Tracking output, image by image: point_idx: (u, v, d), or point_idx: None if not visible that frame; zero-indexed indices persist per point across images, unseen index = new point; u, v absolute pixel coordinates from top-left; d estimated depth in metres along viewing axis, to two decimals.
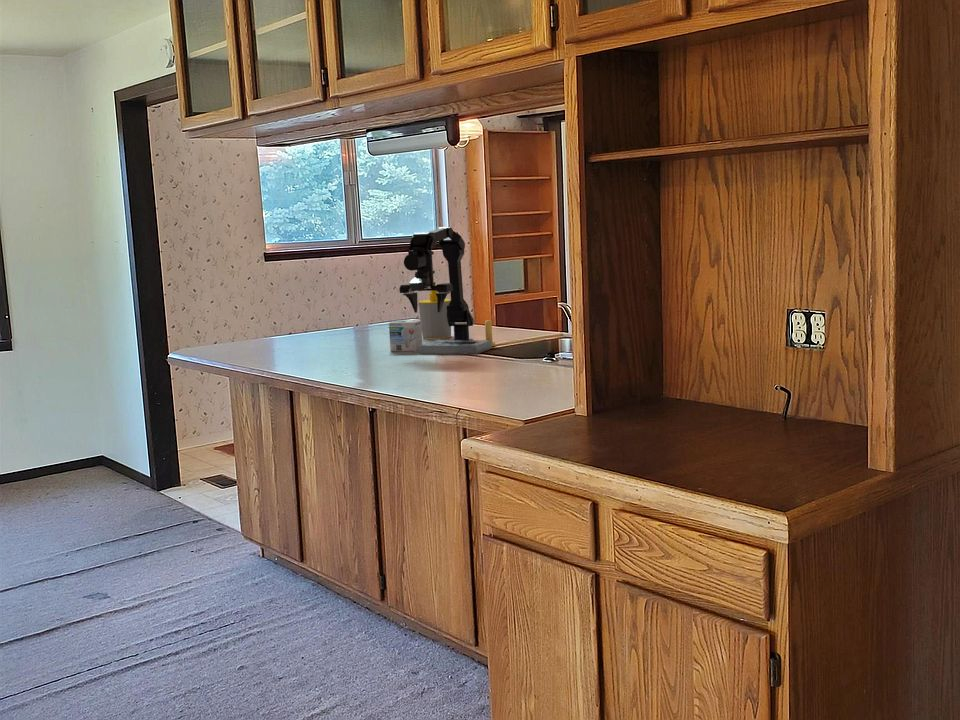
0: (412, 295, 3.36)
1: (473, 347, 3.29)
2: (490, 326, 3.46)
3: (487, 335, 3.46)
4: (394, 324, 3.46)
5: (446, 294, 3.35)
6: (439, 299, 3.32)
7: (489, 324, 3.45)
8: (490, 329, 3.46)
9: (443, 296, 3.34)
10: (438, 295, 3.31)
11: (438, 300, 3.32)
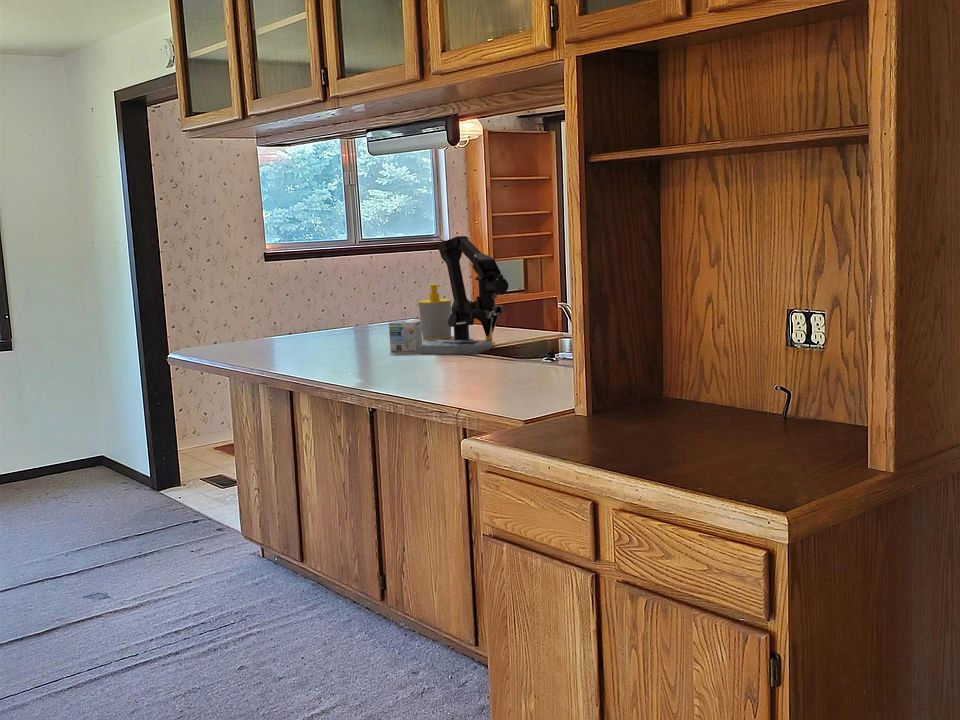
0: None
1: (473, 347, 3.29)
2: None
3: None
4: (394, 324, 3.46)
5: (490, 320, 3.42)
6: None
7: None
8: None
9: (488, 321, 3.43)
10: None
11: None
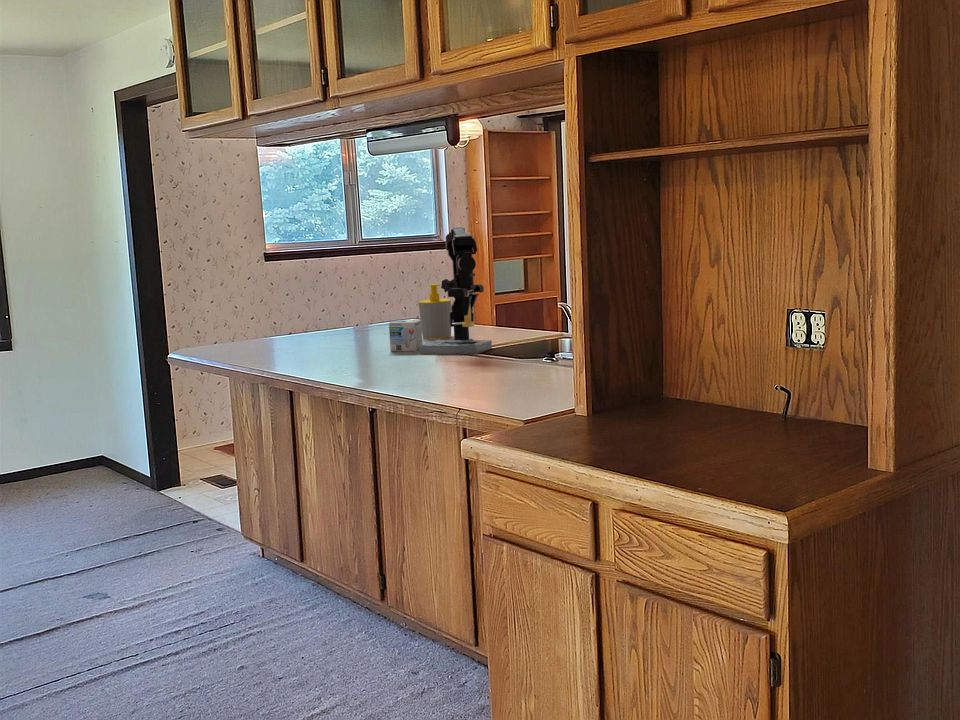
0: None
1: (473, 347, 3.29)
2: None
3: None
4: (394, 324, 3.46)
5: (468, 298, 3.31)
6: None
7: None
8: (469, 308, 3.35)
9: (466, 300, 3.32)
10: None
11: None
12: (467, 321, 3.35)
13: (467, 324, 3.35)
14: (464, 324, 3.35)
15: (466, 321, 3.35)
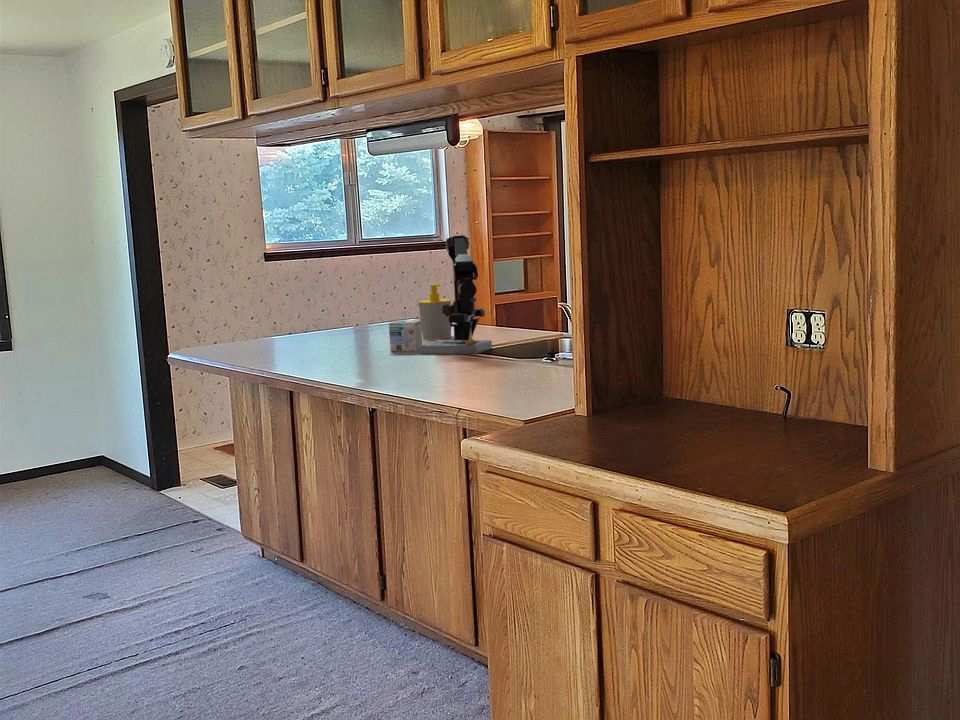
0: None
1: (473, 347, 3.29)
2: None
3: None
4: (394, 324, 3.46)
5: (469, 323, 3.32)
6: None
7: None
8: (470, 333, 3.36)
9: (467, 325, 3.34)
10: None
11: None
12: None
13: None
14: None
15: None
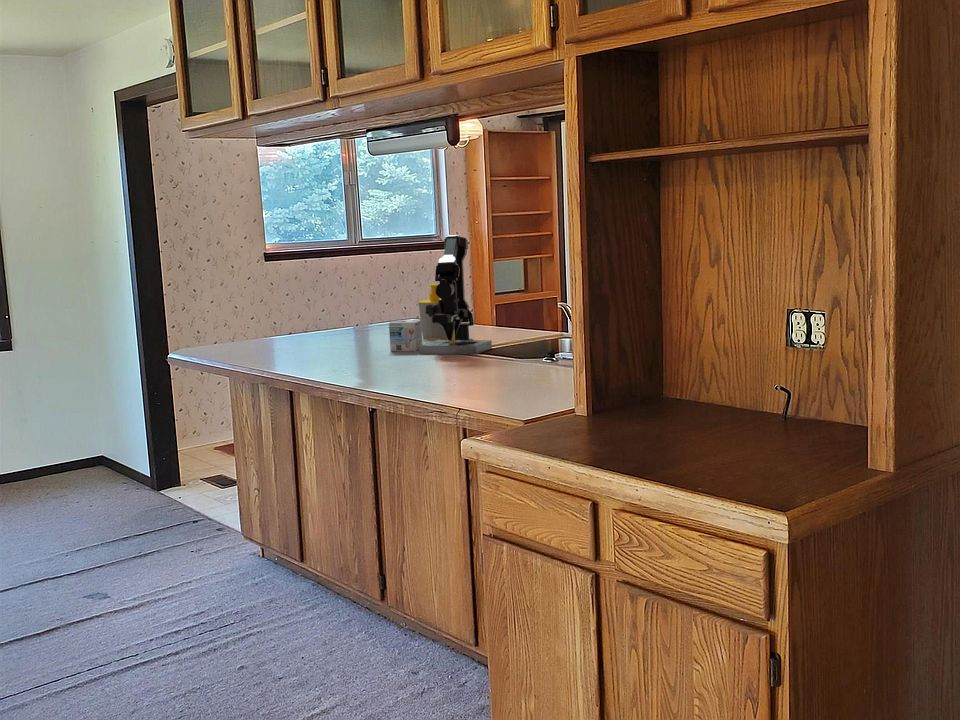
0: None
1: (473, 347, 3.29)
2: None
3: None
4: (394, 324, 3.46)
5: (452, 324, 3.35)
6: None
7: None
8: (453, 333, 3.39)
9: (450, 325, 3.36)
10: None
11: None
12: None
13: None
14: None
15: None
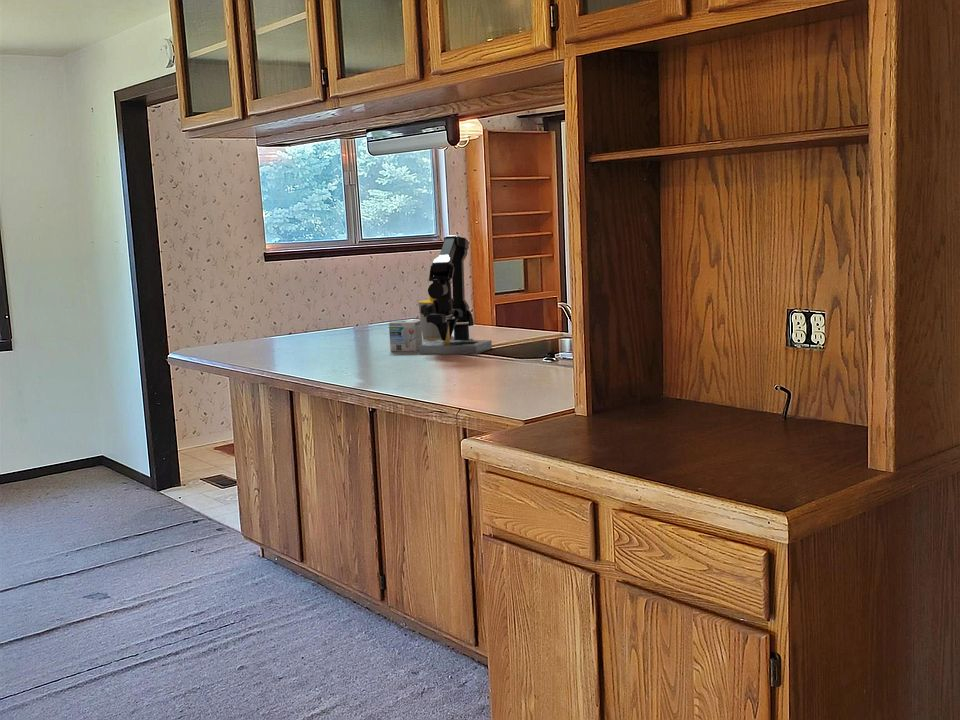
0: None
1: (473, 347, 3.29)
2: None
3: (444, 340, 3.40)
4: (394, 324, 3.46)
5: (446, 324, 3.35)
6: None
7: None
8: (447, 333, 3.40)
9: (444, 325, 3.36)
10: None
11: None
12: None
13: None
14: None
15: None
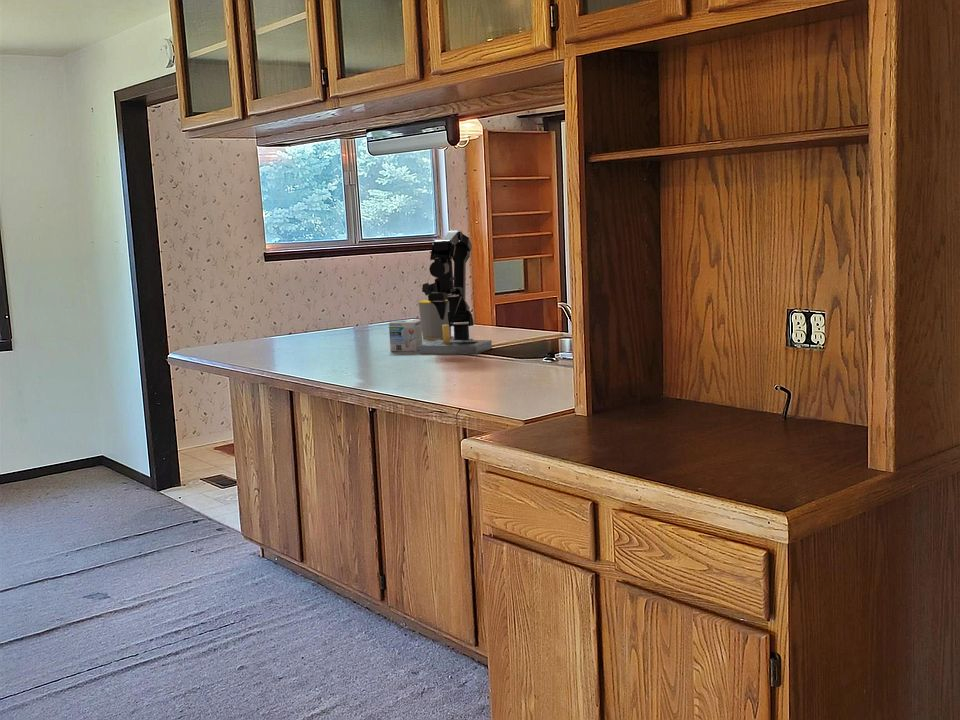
0: (450, 299, 3.48)
1: (473, 347, 3.29)
2: (447, 330, 3.39)
3: (444, 340, 3.40)
4: (394, 324, 3.46)
5: (444, 303, 3.36)
6: None
7: (446, 328, 3.39)
8: (447, 333, 3.40)
9: (442, 304, 3.37)
10: None
11: None
12: None
13: None
14: None
15: None
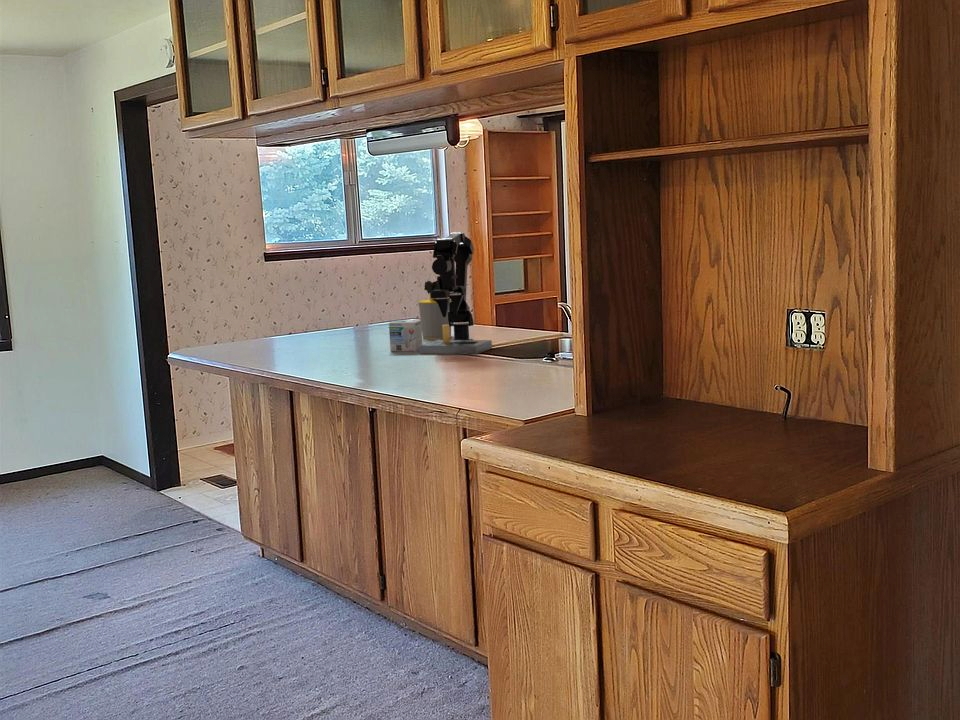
0: (452, 297, 3.51)
1: (473, 347, 3.29)
2: (447, 330, 3.39)
3: (444, 340, 3.40)
4: (394, 324, 3.46)
5: (446, 300, 3.39)
6: None
7: (446, 328, 3.39)
8: (447, 333, 3.40)
9: (444, 302, 3.40)
10: None
11: None
12: None
13: None
14: None
15: None
